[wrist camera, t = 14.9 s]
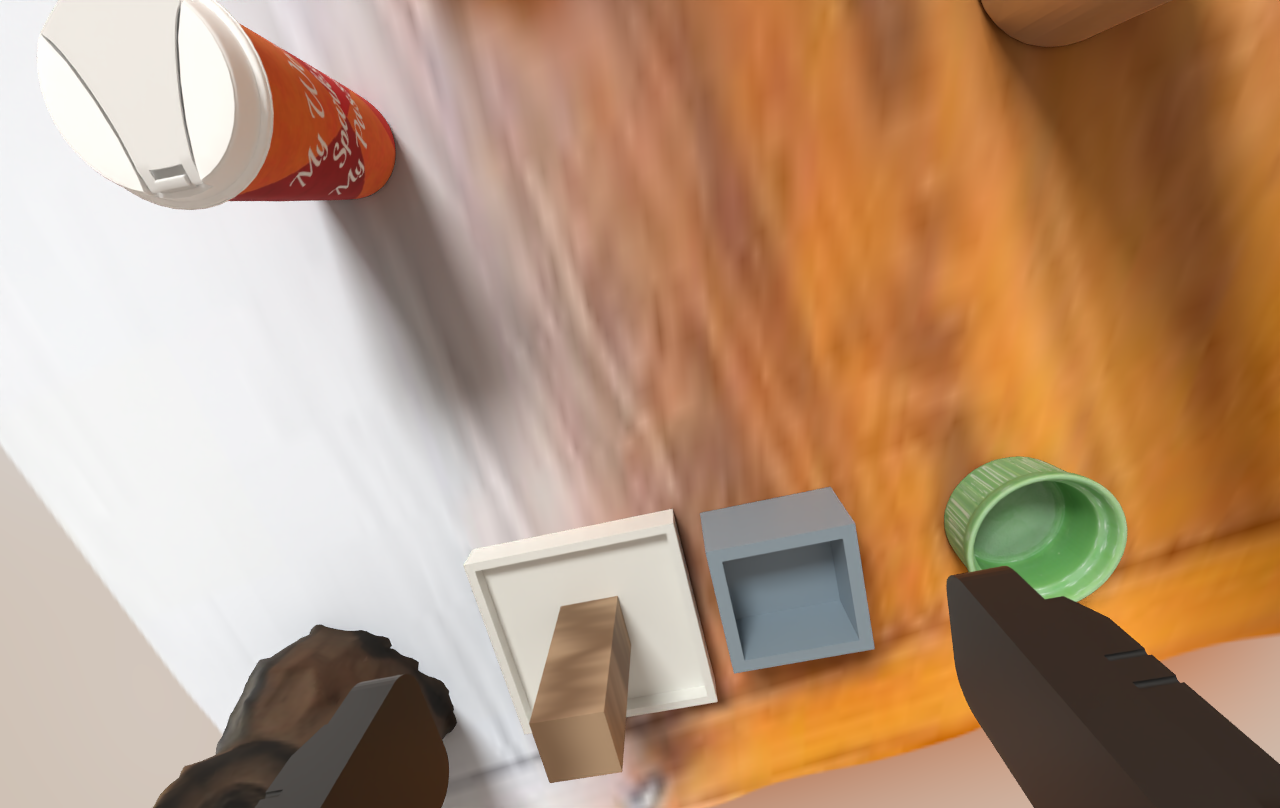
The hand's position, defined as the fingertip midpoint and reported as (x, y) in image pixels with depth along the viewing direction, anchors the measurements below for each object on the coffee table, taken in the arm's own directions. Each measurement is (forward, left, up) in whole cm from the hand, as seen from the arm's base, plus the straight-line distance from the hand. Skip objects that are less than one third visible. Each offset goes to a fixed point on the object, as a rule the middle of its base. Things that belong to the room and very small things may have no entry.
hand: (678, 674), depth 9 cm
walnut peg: (+9, +18, -27) cm, 34 cm away
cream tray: (+9, +18, -28) cm, 35 cm away
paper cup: (+15, -15, -28) cm, 35 cm away
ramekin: (-19, +16, -28) cm, 38 cm away
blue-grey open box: (-4, +16, -28) cm, 33 cm away
